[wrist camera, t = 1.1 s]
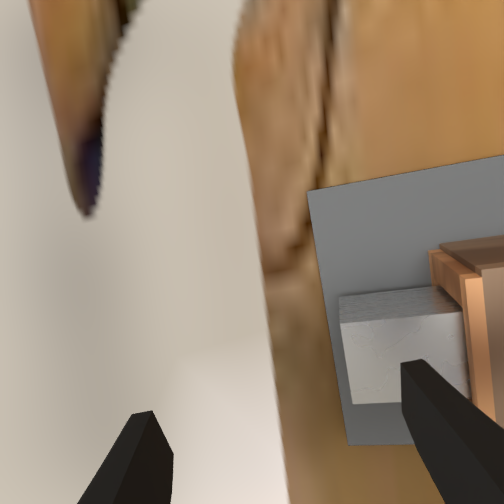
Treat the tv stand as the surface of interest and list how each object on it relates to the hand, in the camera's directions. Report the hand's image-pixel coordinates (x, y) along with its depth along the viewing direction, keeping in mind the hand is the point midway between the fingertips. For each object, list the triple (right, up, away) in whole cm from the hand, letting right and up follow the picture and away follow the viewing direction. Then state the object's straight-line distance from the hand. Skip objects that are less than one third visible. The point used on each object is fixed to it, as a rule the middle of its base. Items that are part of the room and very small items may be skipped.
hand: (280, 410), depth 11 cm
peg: (+8, +1, +9) cm, 12 cm away
